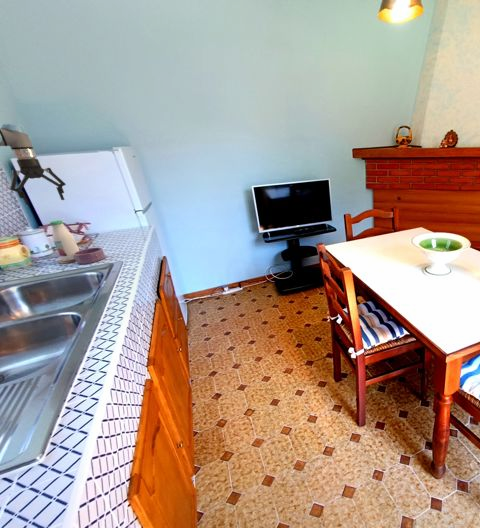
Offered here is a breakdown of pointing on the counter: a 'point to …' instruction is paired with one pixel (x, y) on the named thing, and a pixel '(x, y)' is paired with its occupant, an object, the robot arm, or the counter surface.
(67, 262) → the coaster
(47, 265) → the counter surface
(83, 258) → the bowl
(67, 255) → the milk bottle
